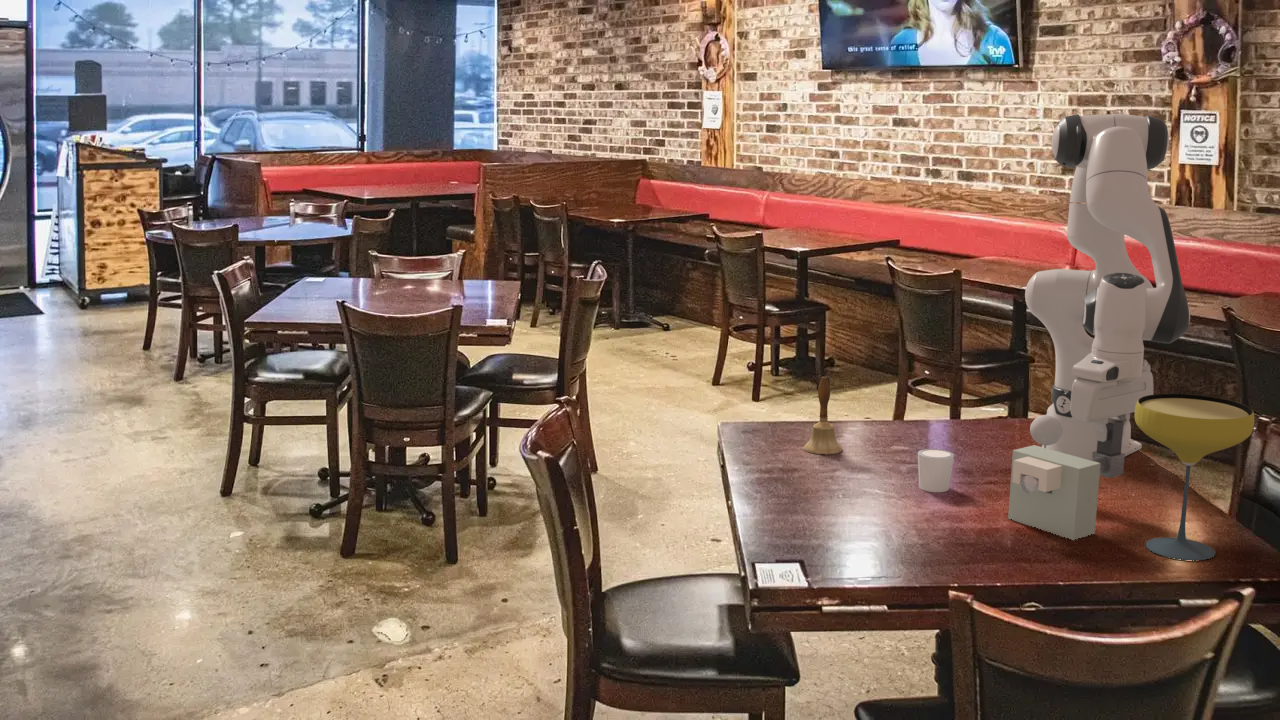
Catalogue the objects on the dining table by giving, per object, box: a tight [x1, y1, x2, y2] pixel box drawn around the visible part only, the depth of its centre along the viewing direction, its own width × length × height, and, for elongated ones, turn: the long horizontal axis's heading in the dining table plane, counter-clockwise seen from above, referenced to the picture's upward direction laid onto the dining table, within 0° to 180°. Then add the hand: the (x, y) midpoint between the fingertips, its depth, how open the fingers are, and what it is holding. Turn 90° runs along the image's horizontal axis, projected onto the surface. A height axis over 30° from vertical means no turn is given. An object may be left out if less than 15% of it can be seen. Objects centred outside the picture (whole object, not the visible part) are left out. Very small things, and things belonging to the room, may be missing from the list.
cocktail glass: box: [1134, 393, 1255, 562], centre depth 211 cm, size 18×18×25 cm
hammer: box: [1020, 418, 1126, 493], centre depth 225 cm, size 25×4×10 cm, turn 125°
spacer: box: [1012, 456, 1062, 492], centre depth 220 cm, size 4×7×4 cm, turn 35°
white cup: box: [917, 448, 955, 493], centre depth 246 cm, size 7×7×7 cm
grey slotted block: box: [1007, 444, 1101, 541], centre depth 224 cm, size 6×14×13 cm, turn 35°
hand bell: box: [803, 376, 843, 456], centre depth 271 cm, size 8×8×16 cm
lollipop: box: [1029, 414, 1063, 448], centre depth 244 cm, size 6×6×15 cm
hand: (1109, 438), depth 231 cm, fingers open, 3 cm apart
